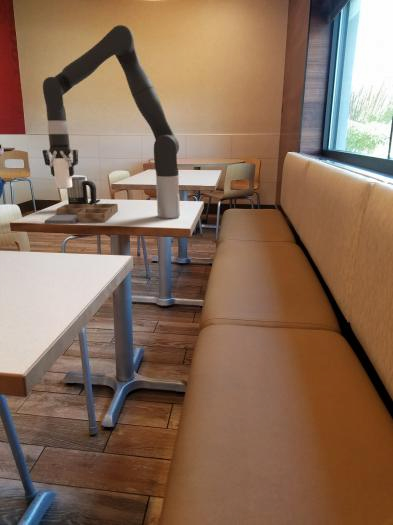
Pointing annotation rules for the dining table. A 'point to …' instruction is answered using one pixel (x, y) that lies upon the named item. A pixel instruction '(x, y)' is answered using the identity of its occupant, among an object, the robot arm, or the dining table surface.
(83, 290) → the dining table surface
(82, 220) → the frame
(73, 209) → the frame
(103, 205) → the frame
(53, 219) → the mat
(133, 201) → the dining table surface
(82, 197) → the milk frother
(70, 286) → the dining table surface
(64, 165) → the can
